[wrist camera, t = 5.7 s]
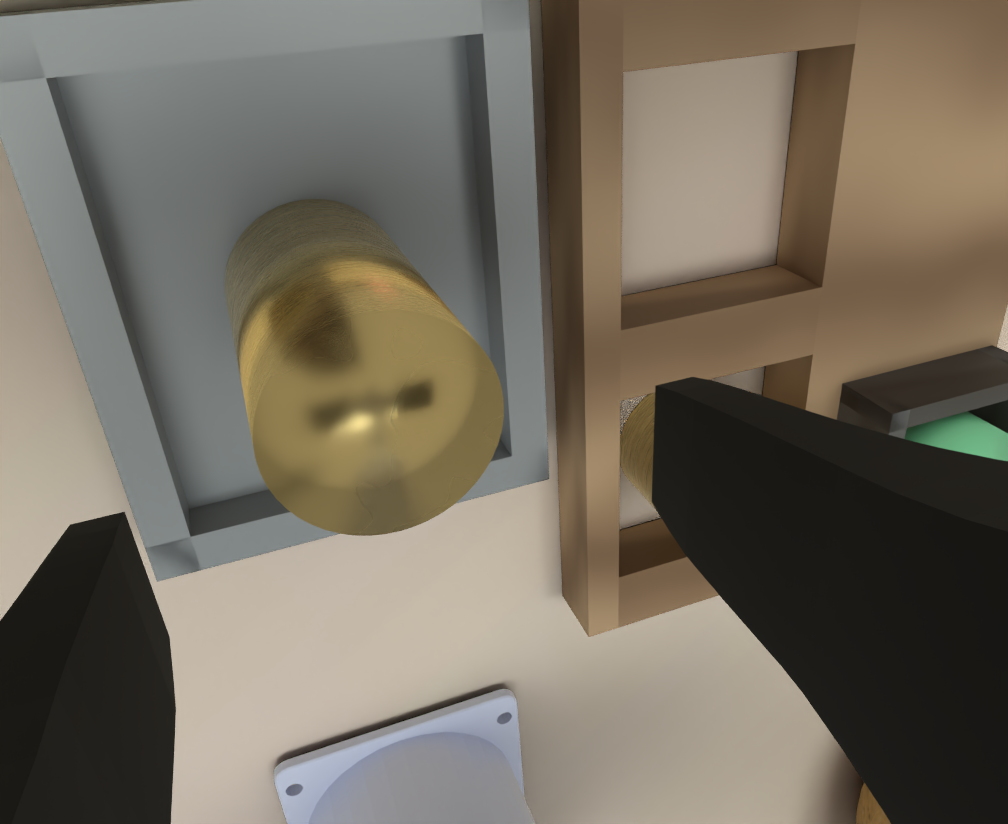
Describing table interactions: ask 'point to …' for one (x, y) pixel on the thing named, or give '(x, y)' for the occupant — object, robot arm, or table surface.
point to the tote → (254, 191)
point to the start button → (962, 436)
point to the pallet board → (801, 251)
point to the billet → (355, 373)
